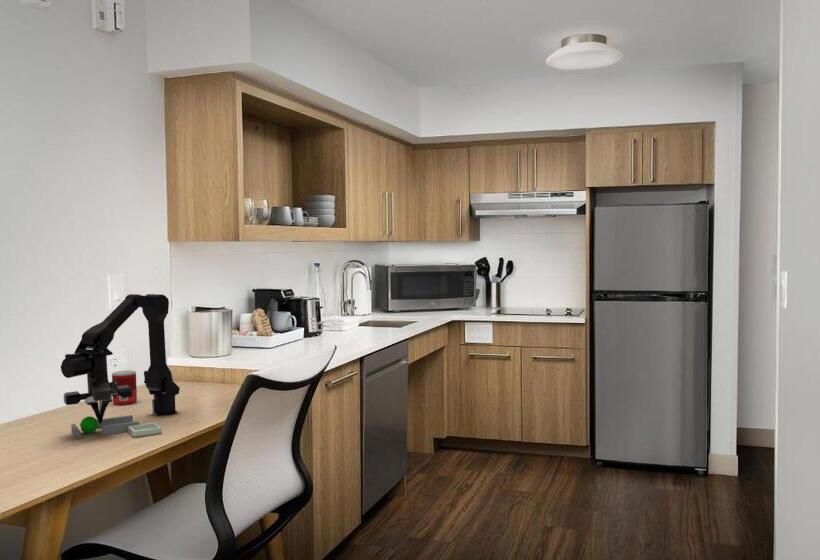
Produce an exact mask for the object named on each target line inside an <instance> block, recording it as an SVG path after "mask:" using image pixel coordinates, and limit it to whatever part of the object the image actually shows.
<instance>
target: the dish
mask: <svg viewBox="0 0 820 560" xmlns="http://www.w3.org/2000/svg"><path fill="white" fill-rule="evenodd" d="M127 433H128V434H129V436H131V437H132V438H133V439H136V438H142V437H150V436H156V435H162V434H163V433H162V427H161V426H160V425H159V424H158V423H157V422H149V423H139V425H133V426H128V432H127Z"/></svg>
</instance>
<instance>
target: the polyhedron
mask: <svg viewBox="0 0 820 560" xmlns="http://www.w3.org/2000/svg"><path fill="white" fill-rule="evenodd" d="M79 426H80V431H81V432H84V434H93V433H94V432H96V431H97V430H98V429H97V427H98V423H97V418H96V417H94V416H85V417H84V418H82V420H80V424H79Z"/></svg>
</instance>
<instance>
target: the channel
mask: <svg viewBox="0 0 820 560" xmlns="http://www.w3.org/2000/svg"><path fill="white" fill-rule="evenodd" d="M97 423H98V427H97V429H96V430H98V429H101V435H102V436H108V435H114V434H121V433H128V426H133V425H140V420H135V421H134V416H133V414H126V415H120V416H114V417H106V418H104V417H103V419H102V423H99V422H98V420H97ZM70 426H71V432H72V433H73V435H74V436H75V438H76V439H77V440H81V439H82V430H81V429H79V427H78V426H77V424H76V423H71V424H70Z"/></svg>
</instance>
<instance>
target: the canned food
mask: <svg viewBox="0 0 820 560" xmlns="http://www.w3.org/2000/svg"><path fill="white" fill-rule="evenodd" d="M115 381H116V382H117V386H124V385H128V386H129V387H130V388H132V391H133V396H132V397H125V398H122V397H121V396H119V395H116V396H112V400H113V402H112V403H113V405H114V406H128V405H133V404H135V403H137V400H138V399H137V398H138V394H137V393H138V392H137V391H138V390H137V371H136V370H133V369H132V370H131V369H130V370H128V369H127V370H118V371H113V372H112V373H111V382H115Z"/></svg>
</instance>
